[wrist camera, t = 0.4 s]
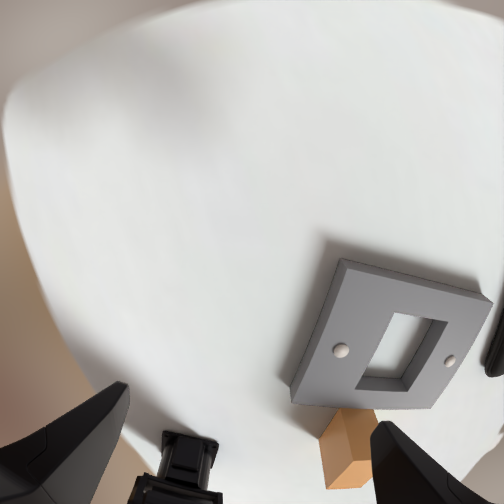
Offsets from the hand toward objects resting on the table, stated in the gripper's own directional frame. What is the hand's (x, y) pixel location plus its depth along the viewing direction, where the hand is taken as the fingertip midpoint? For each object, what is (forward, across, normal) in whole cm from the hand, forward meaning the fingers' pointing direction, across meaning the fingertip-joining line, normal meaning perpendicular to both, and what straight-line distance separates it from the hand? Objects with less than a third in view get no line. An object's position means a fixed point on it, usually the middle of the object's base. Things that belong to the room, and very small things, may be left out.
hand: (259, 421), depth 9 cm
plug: (+14, -13, +16) cm, 25 cm away
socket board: (+14, -13, +4) cm, 20 cm away
